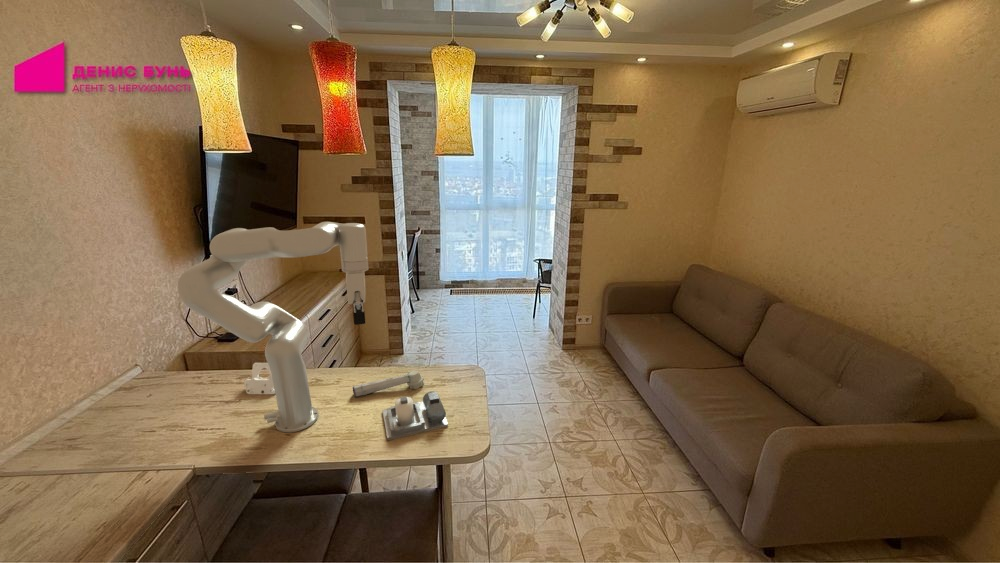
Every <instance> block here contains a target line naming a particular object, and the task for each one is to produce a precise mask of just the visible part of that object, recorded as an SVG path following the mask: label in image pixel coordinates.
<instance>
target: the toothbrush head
mask: <svg viewBox="0 0 1000 563" xmlns="http://www.w3.org/2000/svg"><path fill="white" fill-rule="evenodd" d="M424 380H425V379H424V376H422V375H421V373H420V371H418V370H411V371H410V372H408V373H407V374H402V375H399V376H398V375H397V376H394V377H388V378H385V379H379V380H375V381H370V382H365V383H364V382H362V383H361V384H357V385H353V386H352V392H353V396H354V398H357V397H358V398H359V397H362V396H364V397H365V396H366V395H370V394H372V393H376V392H379V391H383V390H387V389H390V388H393V387H397V386H400V385H403V384H407V385H408V388H409V389H410V390H411V389H412V390H413V389H415V390H417V389H420V388H421V387H423V386H424V385H425V384H424Z"/></svg>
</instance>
